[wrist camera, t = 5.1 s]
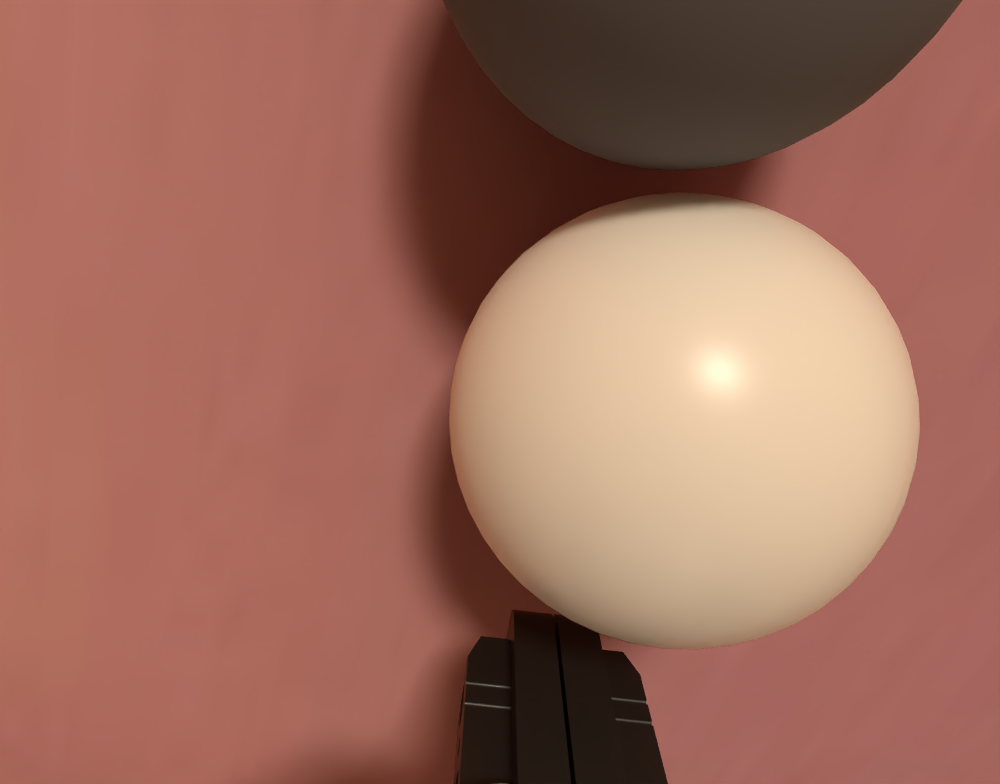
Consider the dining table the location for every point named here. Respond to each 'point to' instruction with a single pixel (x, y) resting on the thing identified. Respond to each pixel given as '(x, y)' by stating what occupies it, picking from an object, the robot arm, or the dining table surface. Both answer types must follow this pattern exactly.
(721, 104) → the object ball
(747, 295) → the cue ball
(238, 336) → the dining table surface
